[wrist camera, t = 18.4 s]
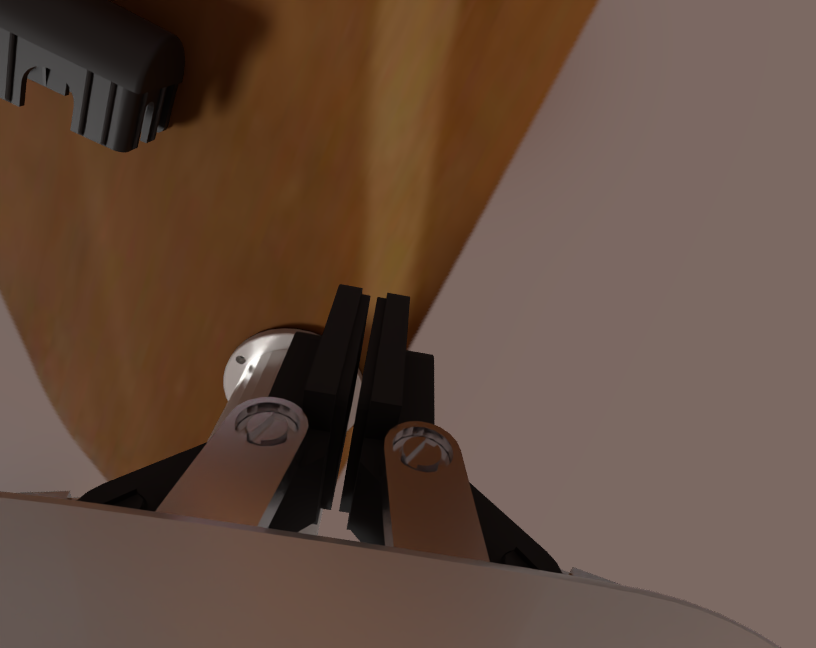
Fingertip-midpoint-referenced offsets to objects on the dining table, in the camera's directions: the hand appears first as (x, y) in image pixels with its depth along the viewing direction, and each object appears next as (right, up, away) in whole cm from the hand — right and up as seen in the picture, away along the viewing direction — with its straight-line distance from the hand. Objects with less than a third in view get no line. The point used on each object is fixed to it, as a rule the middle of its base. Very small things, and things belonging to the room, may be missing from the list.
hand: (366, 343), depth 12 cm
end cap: (-18, +18, +22) cm, 34 cm away
